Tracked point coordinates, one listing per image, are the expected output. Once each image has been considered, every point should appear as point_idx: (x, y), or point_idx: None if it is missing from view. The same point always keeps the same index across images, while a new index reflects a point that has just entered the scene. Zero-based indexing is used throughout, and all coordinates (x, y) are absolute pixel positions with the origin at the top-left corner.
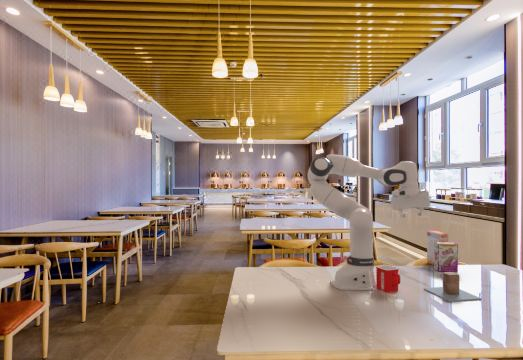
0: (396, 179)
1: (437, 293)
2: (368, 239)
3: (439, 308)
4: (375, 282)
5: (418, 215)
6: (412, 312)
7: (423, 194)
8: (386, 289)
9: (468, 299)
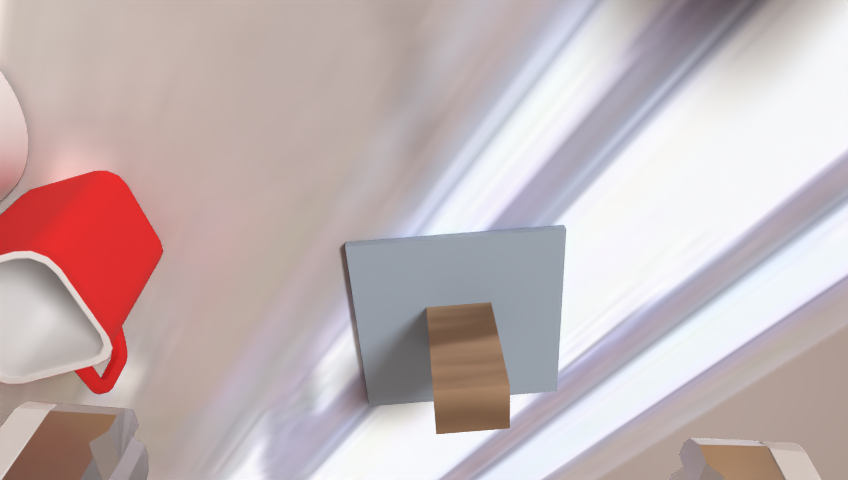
0: None
1: (374, 327)
2: None
3: (277, 451)
4: (6, 172)
5: (684, 471)
6: None
7: None
8: (65, 288)
9: None
